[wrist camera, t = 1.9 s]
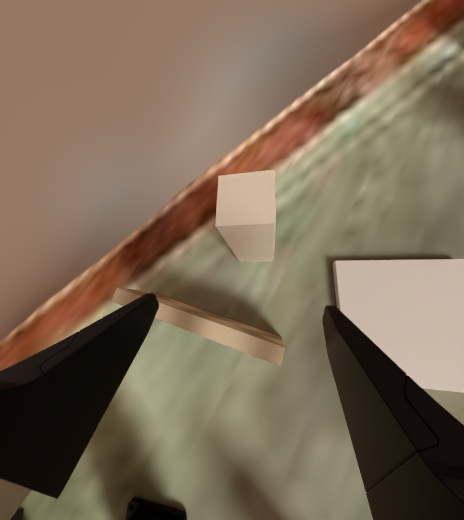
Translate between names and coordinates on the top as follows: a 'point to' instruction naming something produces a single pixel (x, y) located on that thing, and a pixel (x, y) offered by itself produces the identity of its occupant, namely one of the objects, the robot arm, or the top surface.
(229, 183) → the plain beige block
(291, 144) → the top surface
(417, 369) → the pad
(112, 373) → the robot arm
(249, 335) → the birch partition
